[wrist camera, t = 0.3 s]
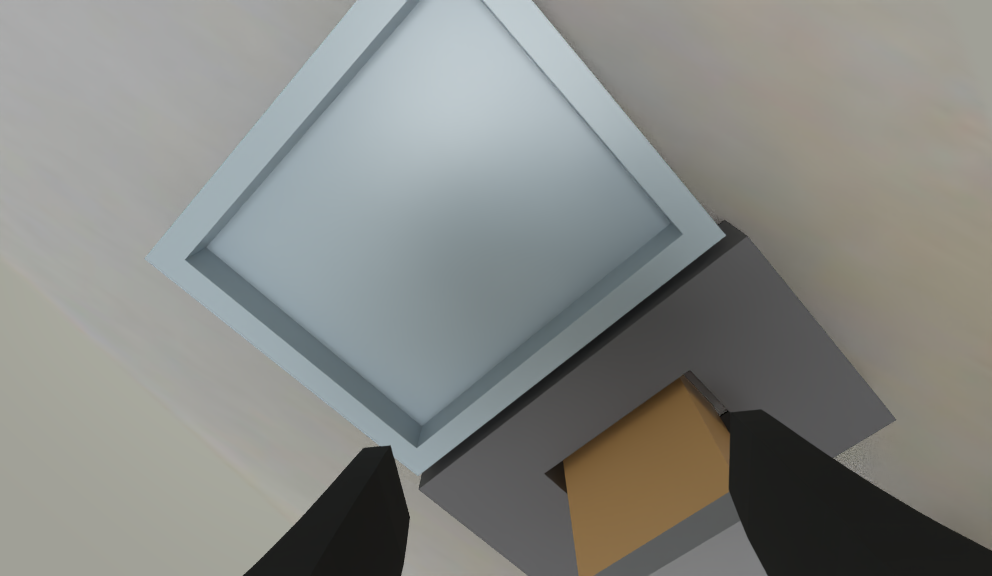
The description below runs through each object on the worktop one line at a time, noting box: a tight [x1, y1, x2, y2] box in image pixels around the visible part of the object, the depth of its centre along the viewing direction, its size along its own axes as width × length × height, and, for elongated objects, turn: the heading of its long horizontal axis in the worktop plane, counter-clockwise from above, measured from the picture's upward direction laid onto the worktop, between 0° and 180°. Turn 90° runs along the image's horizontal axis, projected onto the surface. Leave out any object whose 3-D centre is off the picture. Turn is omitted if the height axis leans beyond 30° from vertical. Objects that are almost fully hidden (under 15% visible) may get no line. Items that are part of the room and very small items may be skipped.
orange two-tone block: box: [563, 375, 768, 576], centre depth 19 cm, size 3×6×8 cm, turn 134°
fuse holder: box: [419, 220, 896, 576], centre depth 22 cm, size 10×16×2 cm, turn 134°
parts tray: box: [144, 0, 726, 476], centre depth 19 cm, size 13×15×2 cm
